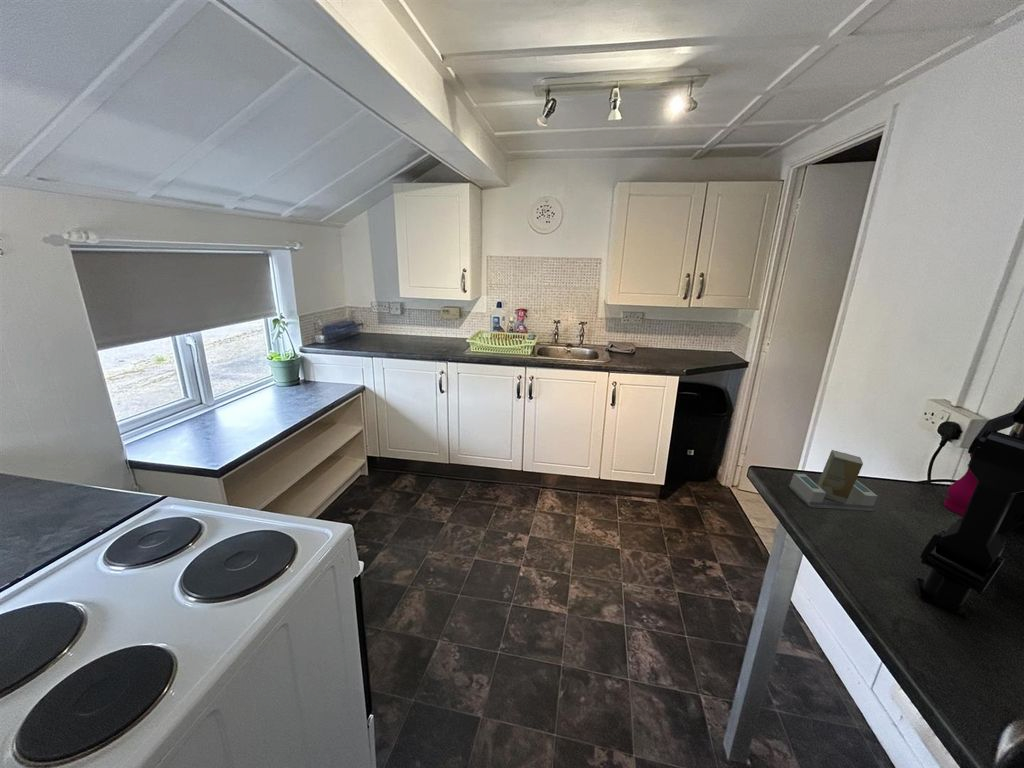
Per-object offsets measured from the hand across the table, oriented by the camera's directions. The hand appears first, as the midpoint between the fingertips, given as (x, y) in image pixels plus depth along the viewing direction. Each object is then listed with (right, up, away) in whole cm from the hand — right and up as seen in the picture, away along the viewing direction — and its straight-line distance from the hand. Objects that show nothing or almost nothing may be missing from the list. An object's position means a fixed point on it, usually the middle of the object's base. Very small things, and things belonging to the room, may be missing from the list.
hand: (994, 520), depth 83 cm
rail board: (-13, -3, +27) cm, 30 cm away
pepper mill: (+20, -6, +25) cm, 33 cm away
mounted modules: (-13, -3, +27) cm, 30 cm away
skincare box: (-12, -3, +26) cm, 29 cm away
